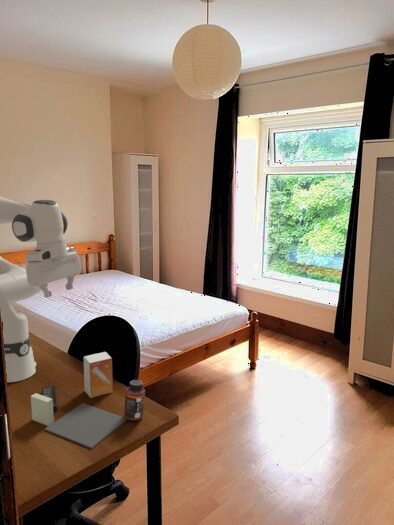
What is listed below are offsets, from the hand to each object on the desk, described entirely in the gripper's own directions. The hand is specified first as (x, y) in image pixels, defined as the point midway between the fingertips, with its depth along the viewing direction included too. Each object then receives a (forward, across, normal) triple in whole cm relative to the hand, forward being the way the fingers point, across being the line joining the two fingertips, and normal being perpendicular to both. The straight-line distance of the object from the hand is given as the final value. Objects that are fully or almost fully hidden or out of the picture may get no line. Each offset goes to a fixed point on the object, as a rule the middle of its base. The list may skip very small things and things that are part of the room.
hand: (59, 293), depth 134 cm
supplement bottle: (+39, +1, +24) cm, 46 cm away
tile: (+36, +15, +1) cm, 39 cm away
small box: (+38, -7, +4) cm, 38 cm away
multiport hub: (+36, +6, -6) cm, 37 cm away
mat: (+38, +10, +14) cm, 42 cm away
